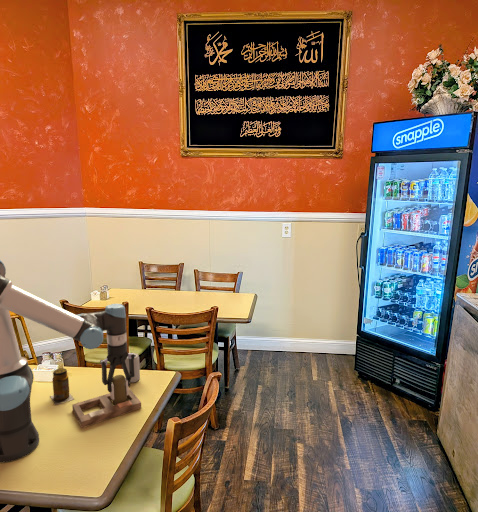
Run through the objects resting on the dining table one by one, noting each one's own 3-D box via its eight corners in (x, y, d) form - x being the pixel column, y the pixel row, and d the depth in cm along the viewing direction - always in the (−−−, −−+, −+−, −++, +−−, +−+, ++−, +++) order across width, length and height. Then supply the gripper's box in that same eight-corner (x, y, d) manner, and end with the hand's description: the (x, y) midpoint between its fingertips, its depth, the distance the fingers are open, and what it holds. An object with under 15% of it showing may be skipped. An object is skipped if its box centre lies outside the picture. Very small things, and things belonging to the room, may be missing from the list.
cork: (122, 406, 155) (121, 380, 153) (109, 404, 156) (107, 379, 154) (130, 398, 161) (129, 373, 159) (116, 396, 162) (115, 372, 160)
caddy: (81, 428, 143) (81, 420, 142) (72, 410, 154) (72, 403, 153) (141, 407, 156) (141, 401, 155) (128, 392, 167) (128, 386, 167)
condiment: (68, 391, 168) (66, 365, 166) (74, 399, 162) (72, 372, 159) (50, 396, 163) (47, 370, 161) (55, 405, 157) (53, 378, 155)
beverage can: (137, 383, 175) (136, 358, 173) (123, 383, 175) (122, 358, 173) (141, 376, 181) (140, 352, 179) (128, 376, 181) (127, 352, 179)
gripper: (96, 351, 146) (99, 407, 150) (142, 340, 156) (144, 393, 160) (90, 344, 152) (94, 398, 156) (135, 334, 162) (137, 385, 166)
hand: (119, 396), depth 158 cm, fingers closed on cork, 5 cm apart
